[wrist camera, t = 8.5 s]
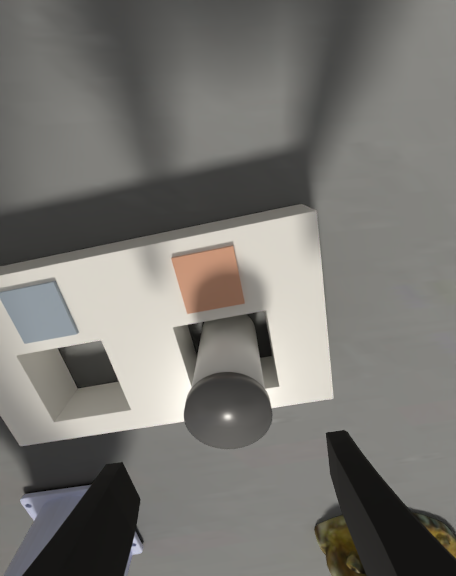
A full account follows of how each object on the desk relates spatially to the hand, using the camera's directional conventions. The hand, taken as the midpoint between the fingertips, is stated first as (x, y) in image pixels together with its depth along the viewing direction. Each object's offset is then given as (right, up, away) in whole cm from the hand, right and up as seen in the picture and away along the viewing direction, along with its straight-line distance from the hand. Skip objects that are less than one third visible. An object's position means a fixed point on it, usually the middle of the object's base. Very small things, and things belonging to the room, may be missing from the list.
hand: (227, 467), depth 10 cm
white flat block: (-5, +4, +9) cm, 11 cm away
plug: (0, +3, +9) cm, 9 cm away
